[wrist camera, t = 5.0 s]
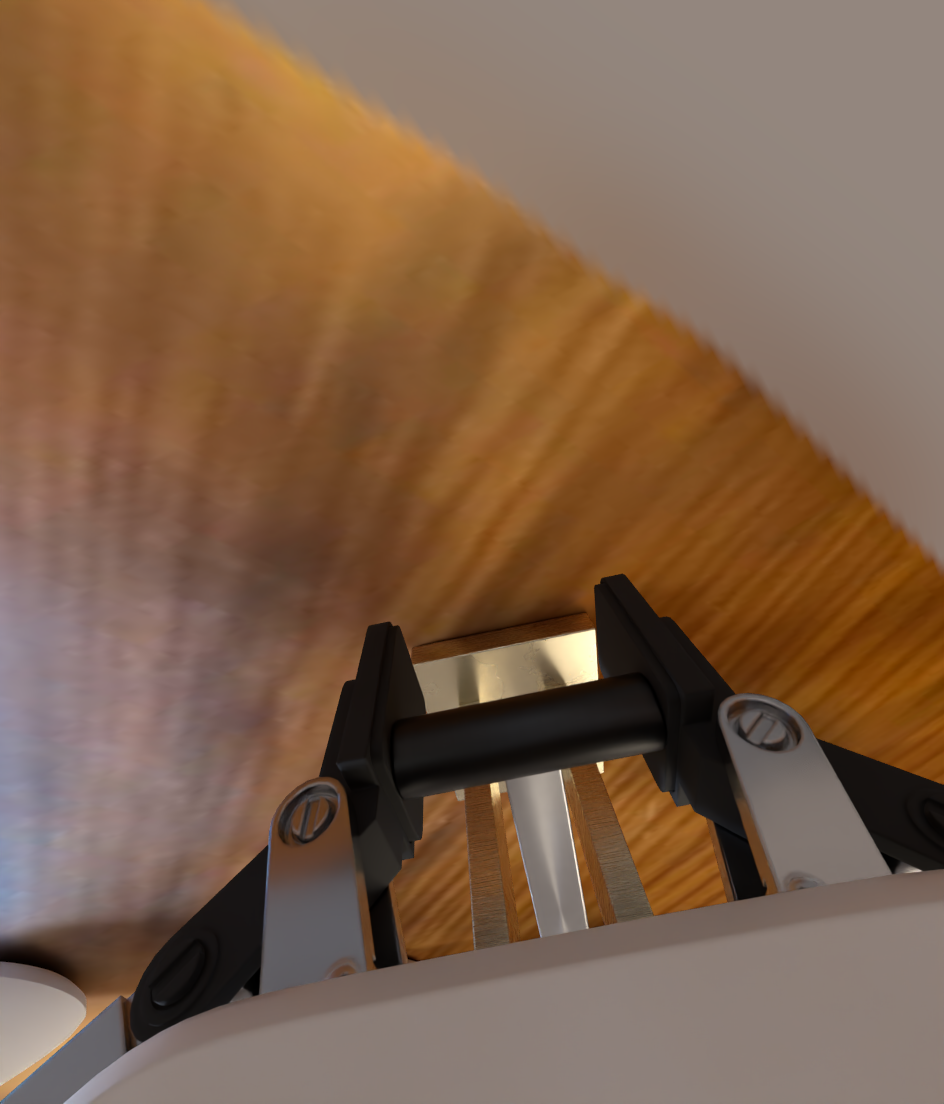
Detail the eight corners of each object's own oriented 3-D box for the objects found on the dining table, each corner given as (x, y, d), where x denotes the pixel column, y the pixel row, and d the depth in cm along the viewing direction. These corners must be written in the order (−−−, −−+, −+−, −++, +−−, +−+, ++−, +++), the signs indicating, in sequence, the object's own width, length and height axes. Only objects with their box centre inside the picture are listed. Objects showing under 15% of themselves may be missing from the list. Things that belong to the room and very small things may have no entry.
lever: (398, 690, 9) (379, 781, 7) (622, 644, 9) (681, 722, 7) (497, 1015, 13) (507, 1145, 10) (657, 985, 13) (702, 1110, 10)
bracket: (411, 646, 19) (376, 1132, 7) (586, 611, 18) (826, 1049, 7) (457, 780, 23) (477, 1200, 12) (596, 753, 23) (751, 1152, 12)
